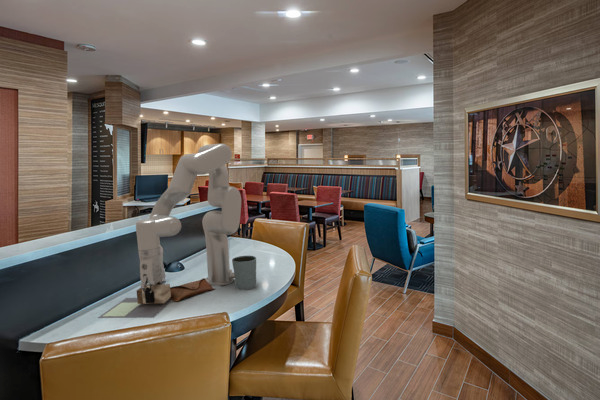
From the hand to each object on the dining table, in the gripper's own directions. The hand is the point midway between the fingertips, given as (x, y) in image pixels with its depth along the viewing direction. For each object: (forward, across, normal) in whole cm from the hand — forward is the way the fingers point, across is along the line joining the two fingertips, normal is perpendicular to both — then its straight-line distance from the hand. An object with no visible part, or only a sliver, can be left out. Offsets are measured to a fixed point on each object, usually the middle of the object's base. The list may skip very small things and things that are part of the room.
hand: (154, 298), depth 133 cm
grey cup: (+3, +18, -31) cm, 36 cm away
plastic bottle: (+3, +24, +10) cm, 27 cm away
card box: (+1, 0, 0) cm, 1 cm away
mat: (+2, -4, +4) cm, 6 cm away
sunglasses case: (+2, +10, -11) cm, 15 cm away
